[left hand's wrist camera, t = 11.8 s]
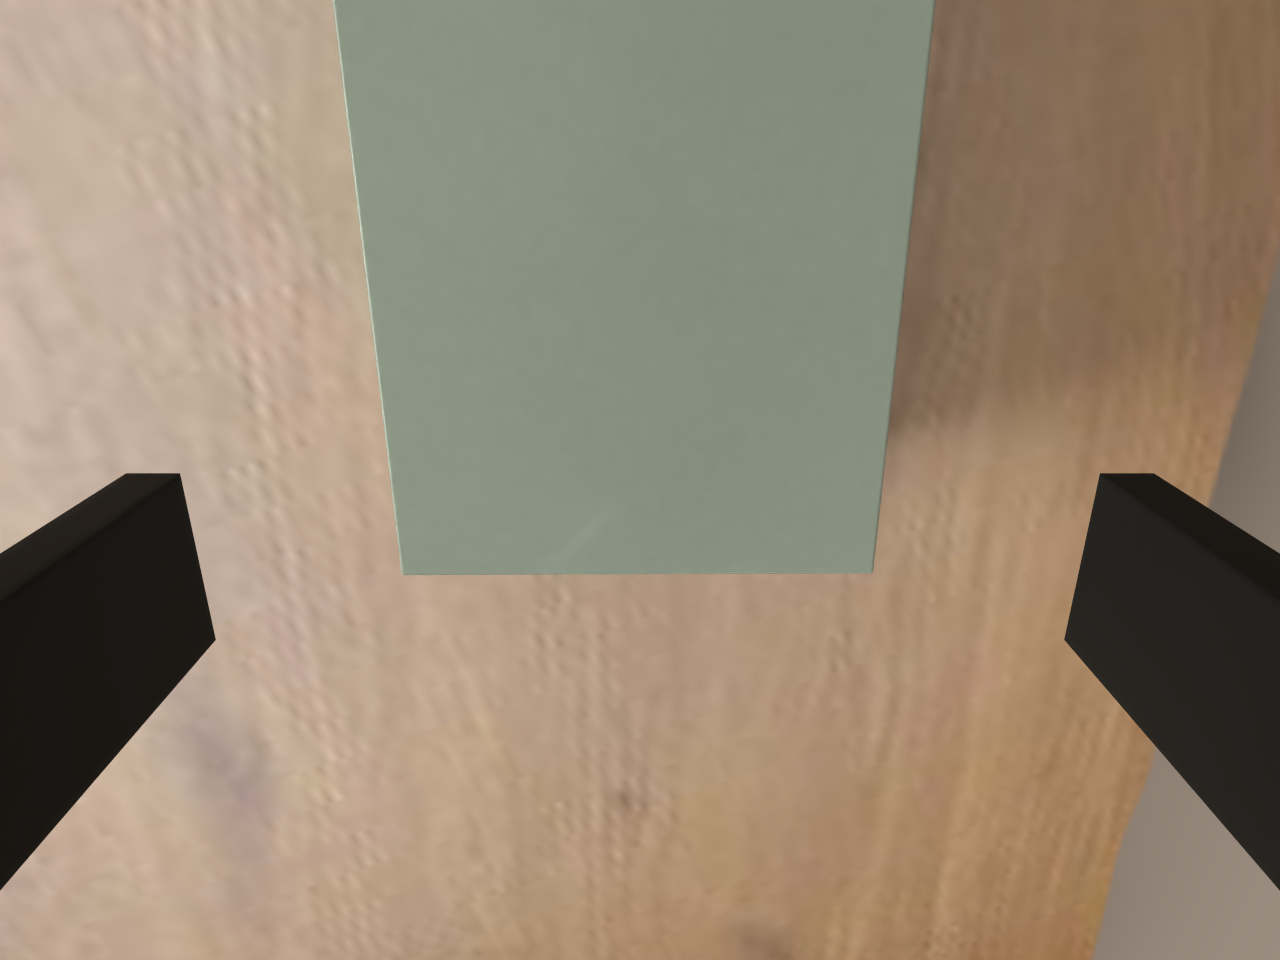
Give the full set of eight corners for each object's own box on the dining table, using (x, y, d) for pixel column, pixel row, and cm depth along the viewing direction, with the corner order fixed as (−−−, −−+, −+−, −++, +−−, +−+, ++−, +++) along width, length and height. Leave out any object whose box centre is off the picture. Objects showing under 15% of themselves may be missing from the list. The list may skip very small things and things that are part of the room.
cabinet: (404, -302, 21) (261, -575, 13) (863, -304, 21) (1001, -579, 13) (467, 456, 28) (401, 576, 20) (808, 454, 28) (873, 574, 20)
